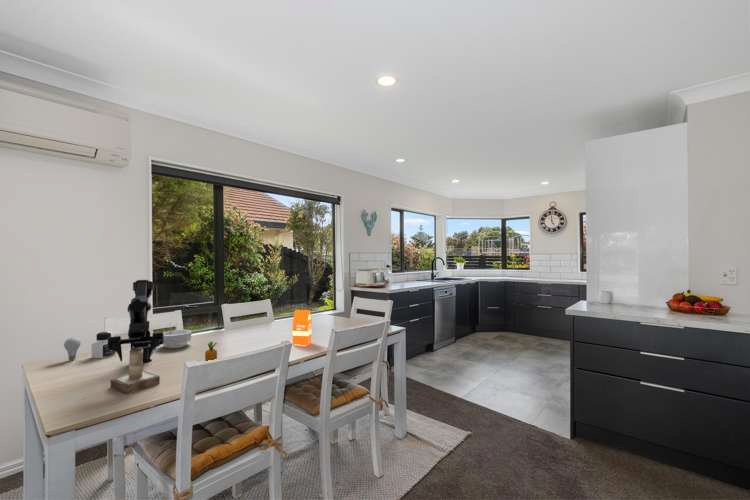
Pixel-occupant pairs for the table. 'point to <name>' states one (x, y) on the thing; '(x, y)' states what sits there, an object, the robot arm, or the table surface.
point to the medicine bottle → (102, 346)
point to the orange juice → (302, 327)
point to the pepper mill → (136, 363)
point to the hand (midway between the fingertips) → (135, 359)
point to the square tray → (134, 382)
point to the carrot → (211, 352)
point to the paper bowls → (176, 338)
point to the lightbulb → (72, 347)
